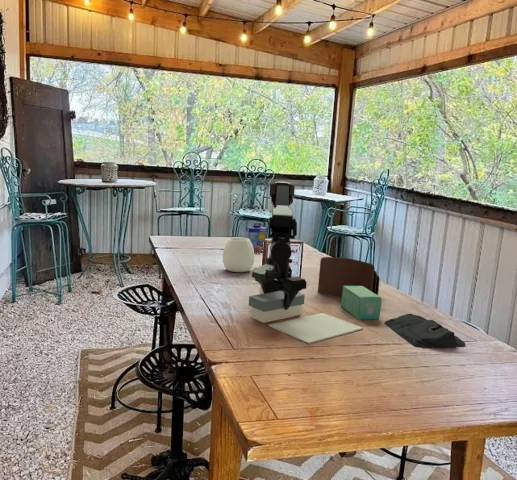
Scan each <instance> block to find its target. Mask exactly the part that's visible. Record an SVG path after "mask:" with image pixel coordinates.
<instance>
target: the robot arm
mask: <svg viewBox="0 0 517 480" xmlns="http://www.w3.org/2000/svg"><path fill="white" fill-rule="evenodd" d="M295 189H296V185H294V184H292V183H291V182H289V181H275V183H270V184H269V192H268V193H269V196H268V197H269V198H270V203H271V206H272V208H273V209H272V210H271V216H269V217H268V218H269V221H268V238H271V240H270V252H269V253H270V254H269V256H268V257H267V258H266V260H265V264H262V265H261V266H259V267H256V268H253V270H252V271H251V277H252V278H253V279H254V281H256V282H257V283H258V284H259V285H260V286H261V289H262V292H263V293H262V294H264V293H270V292H276V291H283V292H284V309H285V310H288V308H289V306H290V305H291V303H292V301H293V299H294V298H295V296H296V295H297V293H300V291H302V290H306V289H307V282H308V281H307V280H306V278H302V277H299V276H293V277H292V274H293V269H292V268H291V265H290V264H293V259H292V258H291V256H292V247H291V240H295V239H296V238H295V237H297V234H298V222H297V219H296V218H295V217H294V211H293V210H292V209H290V207H291V205H292V201H293V199H294V198H295Z"/></svg>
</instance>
